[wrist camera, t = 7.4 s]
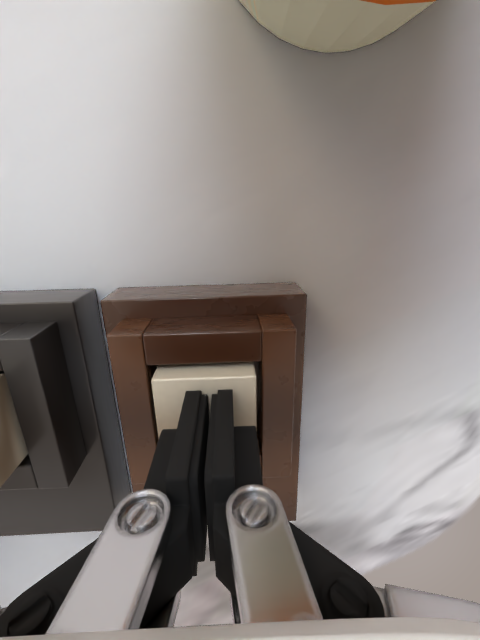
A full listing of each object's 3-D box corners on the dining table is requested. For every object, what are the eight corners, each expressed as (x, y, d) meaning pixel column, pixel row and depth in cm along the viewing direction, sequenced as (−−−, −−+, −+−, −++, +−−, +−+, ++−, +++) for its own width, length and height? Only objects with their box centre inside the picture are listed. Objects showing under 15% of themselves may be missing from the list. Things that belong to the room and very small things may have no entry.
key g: (162, 354, 13) (150, 380, 11) (251, 350, 13) (256, 375, 11) (170, 429, 14) (161, 464, 12) (252, 425, 14) (256, 460, 12)
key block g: (118, 287, 14) (78, 315, 10) (295, 281, 14) (319, 307, 11) (149, 492, 18) (128, 567, 14) (288, 485, 18) (304, 557, 15)
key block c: (-89, 293, 14) (-206, 324, 10) (95, 288, 14) (48, 316, 10) (-12, 500, 18) (-76, 578, 14) (131, 493, 18) (106, 568, 14)
